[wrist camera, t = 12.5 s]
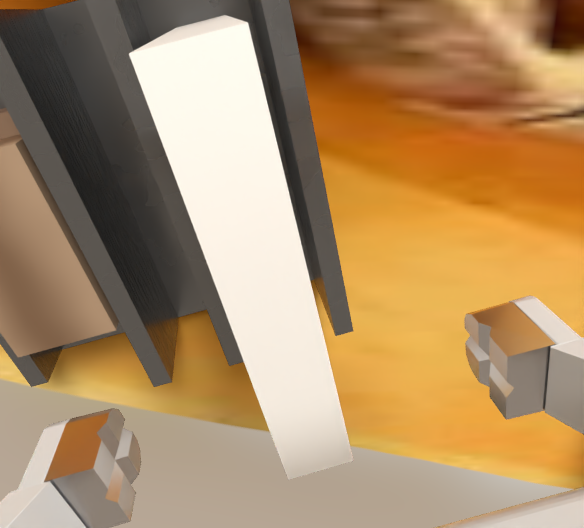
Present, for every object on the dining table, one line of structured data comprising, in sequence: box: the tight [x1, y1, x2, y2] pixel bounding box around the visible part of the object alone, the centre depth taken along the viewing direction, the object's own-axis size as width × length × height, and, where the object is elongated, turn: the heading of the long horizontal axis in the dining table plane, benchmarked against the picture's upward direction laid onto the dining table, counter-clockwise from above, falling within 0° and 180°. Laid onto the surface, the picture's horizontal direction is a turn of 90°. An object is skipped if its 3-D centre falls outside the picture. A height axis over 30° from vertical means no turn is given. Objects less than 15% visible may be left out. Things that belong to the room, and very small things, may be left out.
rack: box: [0, 0, 353, 387], centre depth 23 cm, size 19×18×7 cm
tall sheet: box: [129, 15, 354, 480], centre depth 19 cm, size 2×14×15 cm, turn 13°
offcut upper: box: [0, 134, 119, 357], centre depth 22 cm, size 5×10×2 cm, turn 13°
